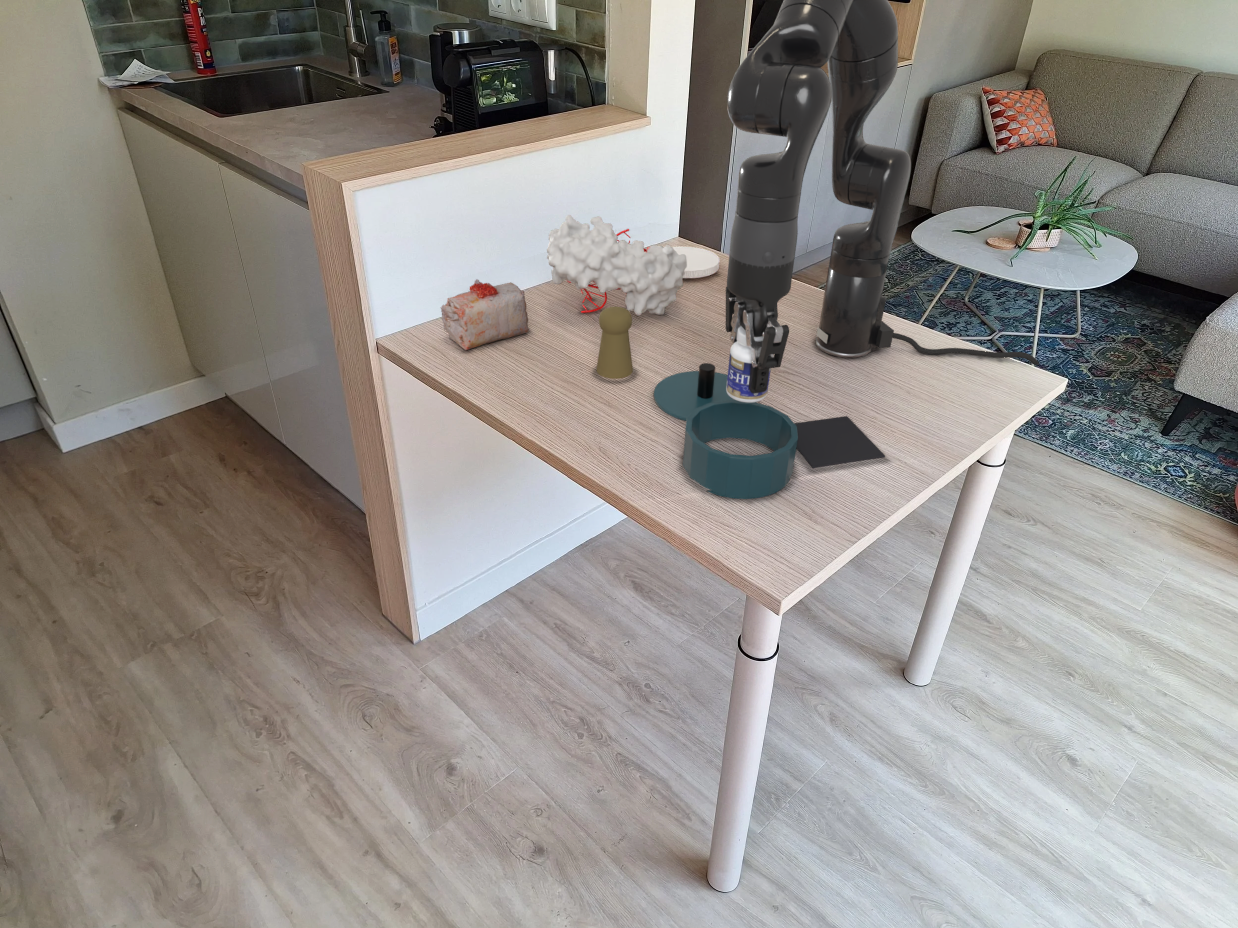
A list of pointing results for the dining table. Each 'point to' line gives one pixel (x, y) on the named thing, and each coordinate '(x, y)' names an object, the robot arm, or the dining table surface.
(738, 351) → the pill bottle
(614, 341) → the olive game pawn
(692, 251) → the plastic lid
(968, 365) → the dining table surface
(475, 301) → the food item
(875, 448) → the plate
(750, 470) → the pot
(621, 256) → the molecular structure model
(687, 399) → the pot lid
